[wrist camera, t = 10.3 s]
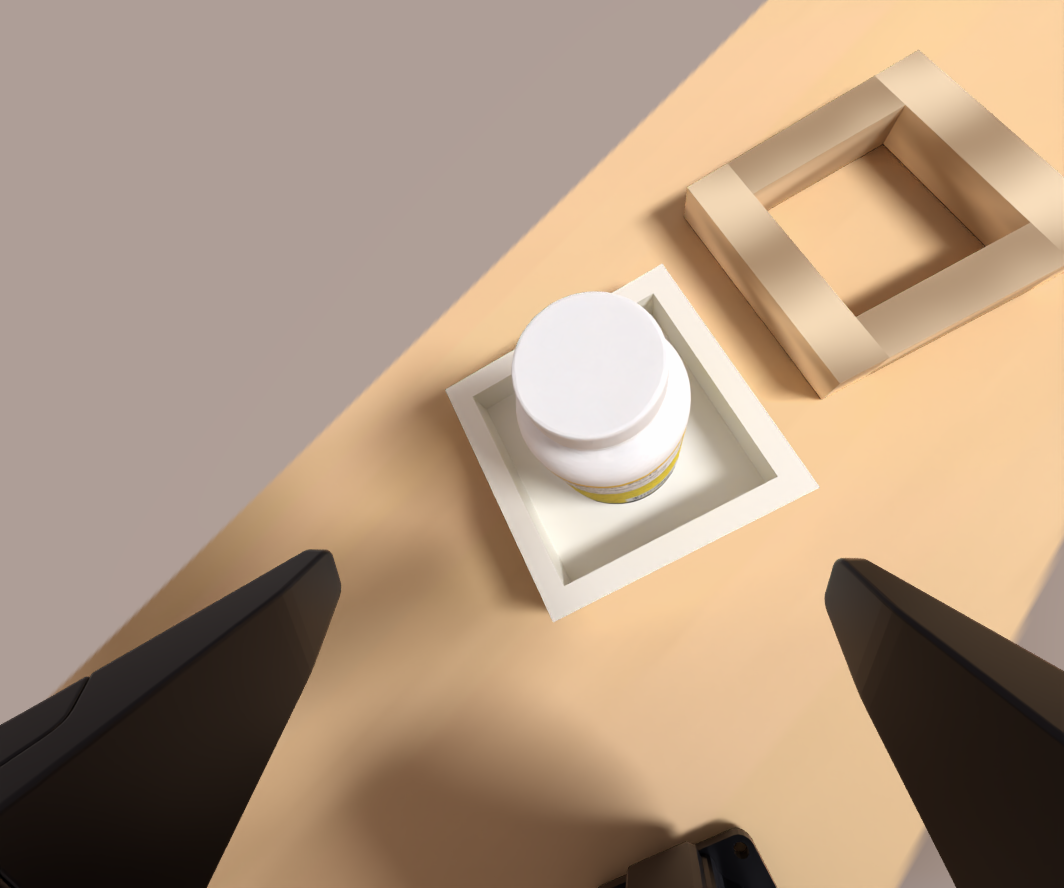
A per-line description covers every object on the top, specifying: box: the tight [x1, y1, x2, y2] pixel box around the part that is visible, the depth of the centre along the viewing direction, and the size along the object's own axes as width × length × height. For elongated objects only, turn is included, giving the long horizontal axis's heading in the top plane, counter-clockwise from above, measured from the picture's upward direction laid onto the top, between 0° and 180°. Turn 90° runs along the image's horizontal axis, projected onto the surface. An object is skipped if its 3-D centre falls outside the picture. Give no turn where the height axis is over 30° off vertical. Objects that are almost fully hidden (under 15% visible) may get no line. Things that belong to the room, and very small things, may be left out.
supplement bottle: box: [511, 292, 691, 504], centre depth 16 cm, size 5×5×10 cm
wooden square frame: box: [684, 50, 1064, 399], centre depth 20 cm, size 11×11×2 cm
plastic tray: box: [445, 264, 820, 622], centre depth 20 cm, size 11×11×2 cm
